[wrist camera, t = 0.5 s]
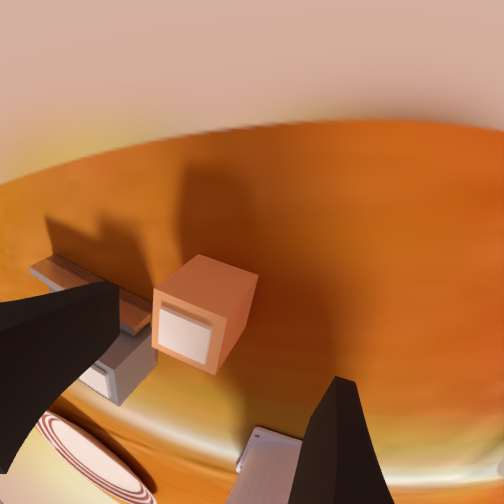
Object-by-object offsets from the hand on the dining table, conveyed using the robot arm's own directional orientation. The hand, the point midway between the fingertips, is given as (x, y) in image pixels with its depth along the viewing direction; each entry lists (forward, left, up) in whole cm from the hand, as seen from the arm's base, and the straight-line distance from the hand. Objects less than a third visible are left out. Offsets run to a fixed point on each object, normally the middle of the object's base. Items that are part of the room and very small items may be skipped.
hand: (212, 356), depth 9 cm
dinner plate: (-48, +21, -10) cm, 54 cm away
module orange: (-4, +3, -10) cm, 11 cm away
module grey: (-10, +9, -8) cm, 16 cm away
